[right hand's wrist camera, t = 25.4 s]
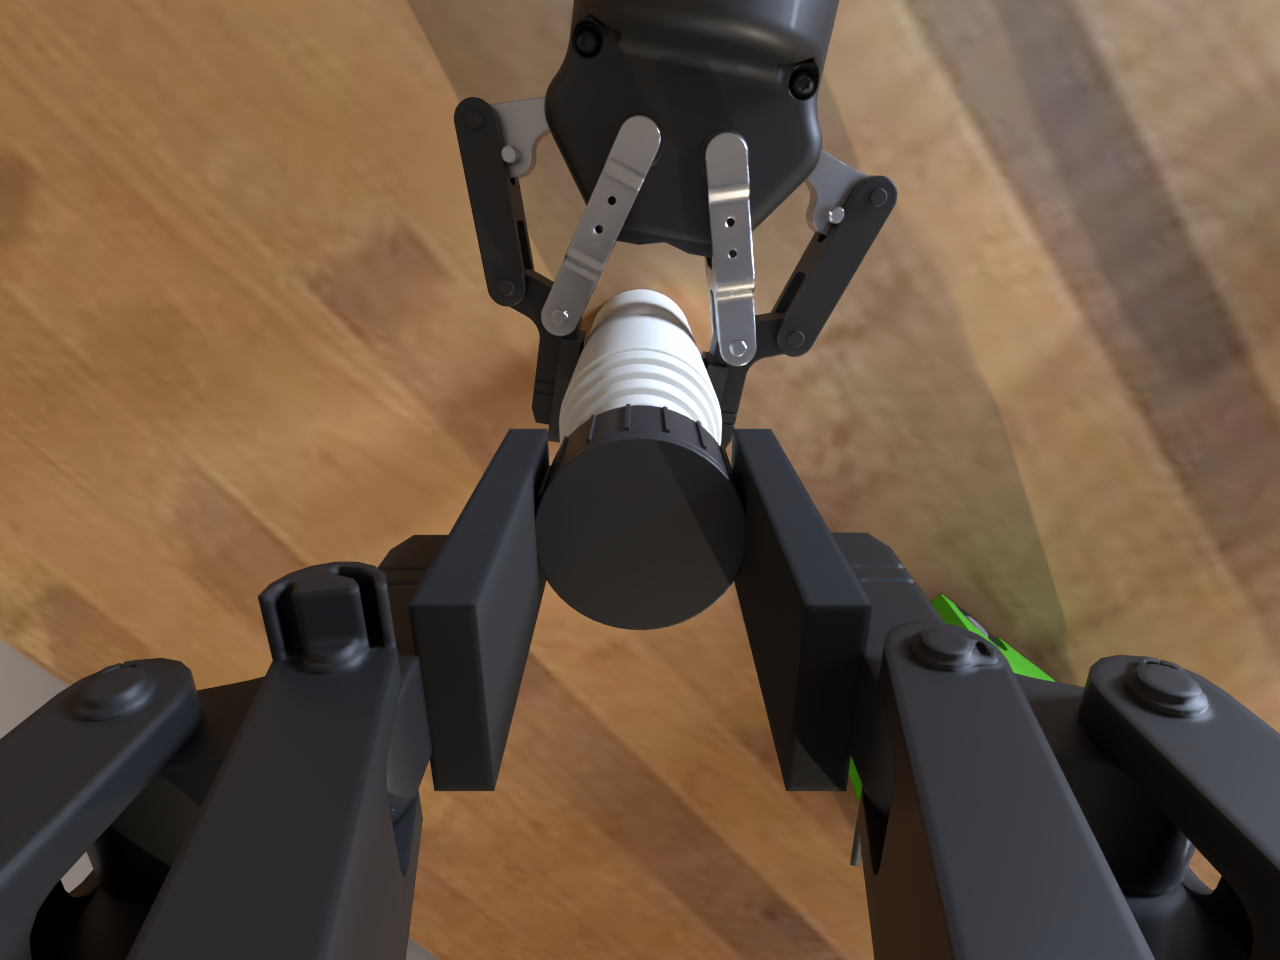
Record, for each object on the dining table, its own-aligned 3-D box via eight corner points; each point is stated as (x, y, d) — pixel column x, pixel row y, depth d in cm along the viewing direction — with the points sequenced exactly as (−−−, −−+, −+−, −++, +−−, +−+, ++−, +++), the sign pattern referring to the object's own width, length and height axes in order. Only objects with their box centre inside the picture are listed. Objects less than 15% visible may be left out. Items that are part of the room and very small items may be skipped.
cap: (551, 580, 15) (539, 636, 13) (536, 404, 13) (519, 437, 12) (733, 575, 15) (746, 630, 13) (737, 398, 13) (753, 431, 12)
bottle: (619, 405, 31) (593, 649, 14) (572, 318, 30) (481, 472, 13) (706, 362, 30) (790, 564, 13) (663, 270, 29) (695, 367, 12)
